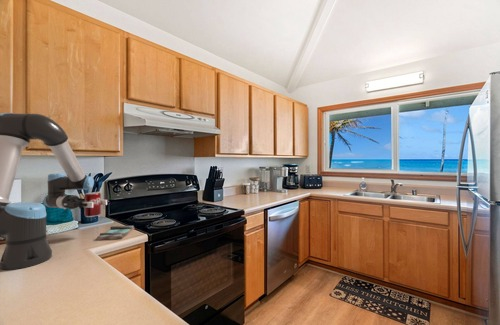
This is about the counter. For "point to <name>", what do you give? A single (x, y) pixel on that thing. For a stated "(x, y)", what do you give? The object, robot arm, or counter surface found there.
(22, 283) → the counter surface
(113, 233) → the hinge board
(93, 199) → the soda can
